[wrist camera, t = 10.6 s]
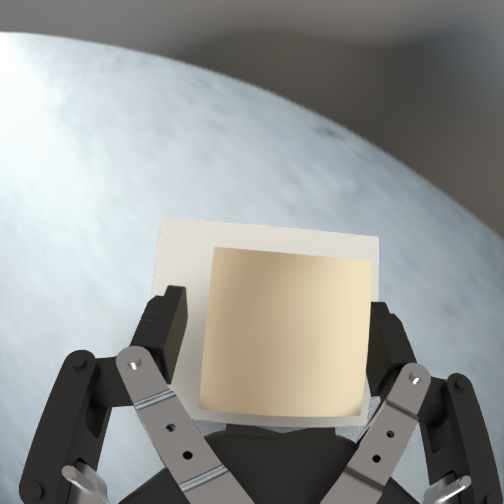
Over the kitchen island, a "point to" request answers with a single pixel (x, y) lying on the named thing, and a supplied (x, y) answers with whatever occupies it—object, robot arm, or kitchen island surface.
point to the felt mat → (197, 289)
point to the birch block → (286, 334)
